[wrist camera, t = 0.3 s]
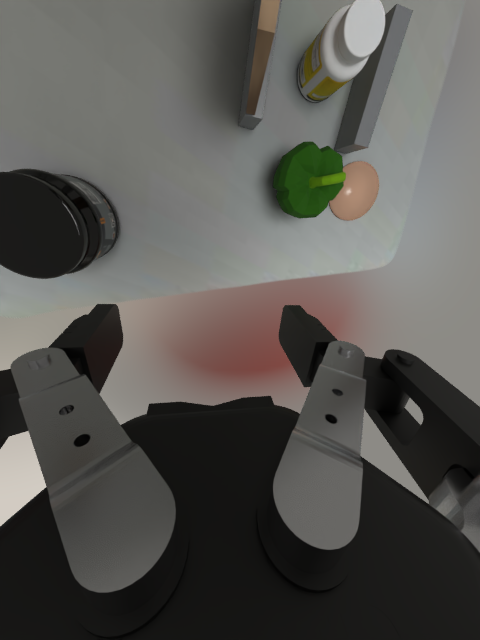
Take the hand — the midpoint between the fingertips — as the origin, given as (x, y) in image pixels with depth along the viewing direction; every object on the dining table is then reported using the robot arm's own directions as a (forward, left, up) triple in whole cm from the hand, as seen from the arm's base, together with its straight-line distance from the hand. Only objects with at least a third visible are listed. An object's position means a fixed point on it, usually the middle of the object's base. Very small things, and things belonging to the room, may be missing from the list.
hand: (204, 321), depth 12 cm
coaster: (-10, +23, -28) cm, 38 cm away
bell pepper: (-9, +13, -28) cm, 32 cm away
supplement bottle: (-21, +13, -28) cm, 38 cm away
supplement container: (0, -16, -28) cm, 33 cm away
